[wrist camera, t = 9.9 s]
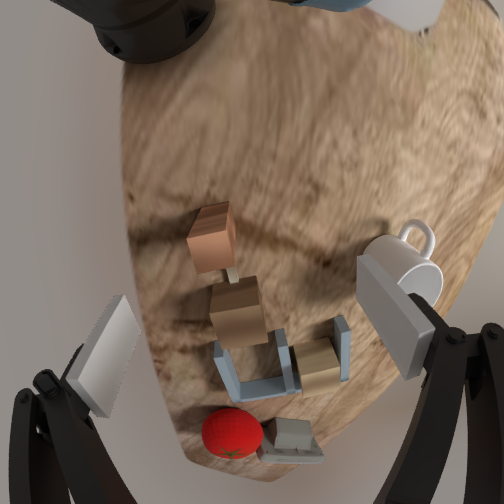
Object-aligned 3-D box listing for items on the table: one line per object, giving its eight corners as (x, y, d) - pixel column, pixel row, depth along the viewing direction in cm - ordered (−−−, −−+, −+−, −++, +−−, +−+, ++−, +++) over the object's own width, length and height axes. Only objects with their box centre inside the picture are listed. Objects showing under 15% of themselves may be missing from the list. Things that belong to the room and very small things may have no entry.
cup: (350, 278, 39) (378, 319, 30) (380, 201, 35) (421, 225, 25) (392, 287, 40) (423, 324, 31) (421, 218, 36) (464, 243, 26)
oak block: (293, 344, 43) (300, 375, 37) (328, 336, 43) (340, 366, 37) (296, 368, 46) (303, 398, 39) (329, 360, 46) (339, 389, 39)
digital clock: (245, 427, 54) (247, 466, 44) (269, 409, 51) (274, 452, 41) (299, 439, 58) (305, 473, 48) (323, 423, 55) (333, 459, 45)
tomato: (210, 395, 48) (207, 440, 38) (268, 406, 50) (273, 448, 41) (197, 421, 52) (194, 460, 42) (249, 430, 54) (251, 468, 45)
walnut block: (192, 209, 34) (173, 241, 24) (239, 199, 34) (240, 227, 24) (223, 318, 41) (221, 372, 30) (263, 310, 40) (271, 364, 30)
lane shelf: (214, 340, 42) (213, 358, 39) (342, 315, 42) (350, 330, 38) (232, 386, 47) (232, 403, 43) (342, 364, 46) (348, 380, 43)
